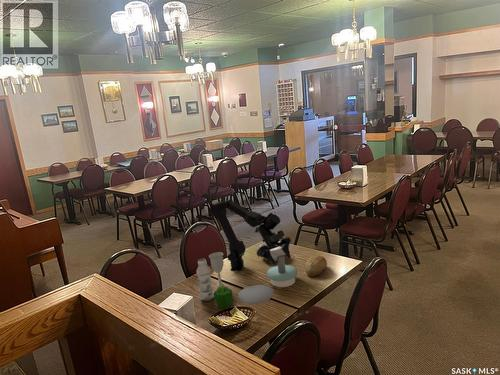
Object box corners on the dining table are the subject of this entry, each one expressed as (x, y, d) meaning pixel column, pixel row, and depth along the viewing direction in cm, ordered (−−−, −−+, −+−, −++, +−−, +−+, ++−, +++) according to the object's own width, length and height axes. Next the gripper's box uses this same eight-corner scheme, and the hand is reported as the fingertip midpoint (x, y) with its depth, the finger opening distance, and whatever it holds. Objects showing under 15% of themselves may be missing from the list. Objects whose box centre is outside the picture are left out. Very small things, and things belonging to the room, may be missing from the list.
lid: (265, 281, 170) (263, 264, 168) (269, 267, 184) (267, 251, 183) (296, 280, 167) (295, 263, 165) (297, 266, 182) (296, 250, 180)
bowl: (269, 288, 172) (269, 279, 171) (272, 276, 184) (271, 268, 183) (294, 287, 170) (293, 279, 169) (295, 275, 181) (294, 267, 180)
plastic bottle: (201, 296, 172) (194, 258, 168) (214, 294, 172) (209, 256, 168) (200, 303, 166) (193, 264, 161) (214, 301, 166) (208, 262, 162)
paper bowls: (258, 254, 213) (257, 242, 211) (283, 250, 214) (282, 238, 212) (262, 265, 198) (260, 252, 196) (288, 261, 199) (287, 248, 198)
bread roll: (331, 267, 186) (330, 253, 185) (318, 279, 175) (317, 265, 173) (315, 264, 192) (314, 250, 190) (301, 276, 181) (300, 261, 179)
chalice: (216, 293, 173) (211, 259, 169) (211, 287, 179) (206, 255, 175) (230, 288, 176) (225, 255, 173) (224, 283, 182) (220, 250, 179)
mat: (234, 305, 161) (234, 304, 161) (241, 286, 177) (241, 285, 177) (271, 304, 158) (271, 303, 158) (275, 285, 174) (275, 284, 174)
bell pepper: (229, 312, 156) (226, 291, 154) (212, 309, 159) (209, 289, 157) (237, 301, 164) (234, 282, 161) (221, 299, 167) (218, 280, 165)
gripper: (257, 232, 169) (273, 260, 162) (287, 221, 179) (303, 247, 172) (250, 243, 177) (265, 270, 171) (279, 232, 187) (294, 258, 180)
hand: (282, 261), depth 173 cm, fingers open, 9 cm apart
